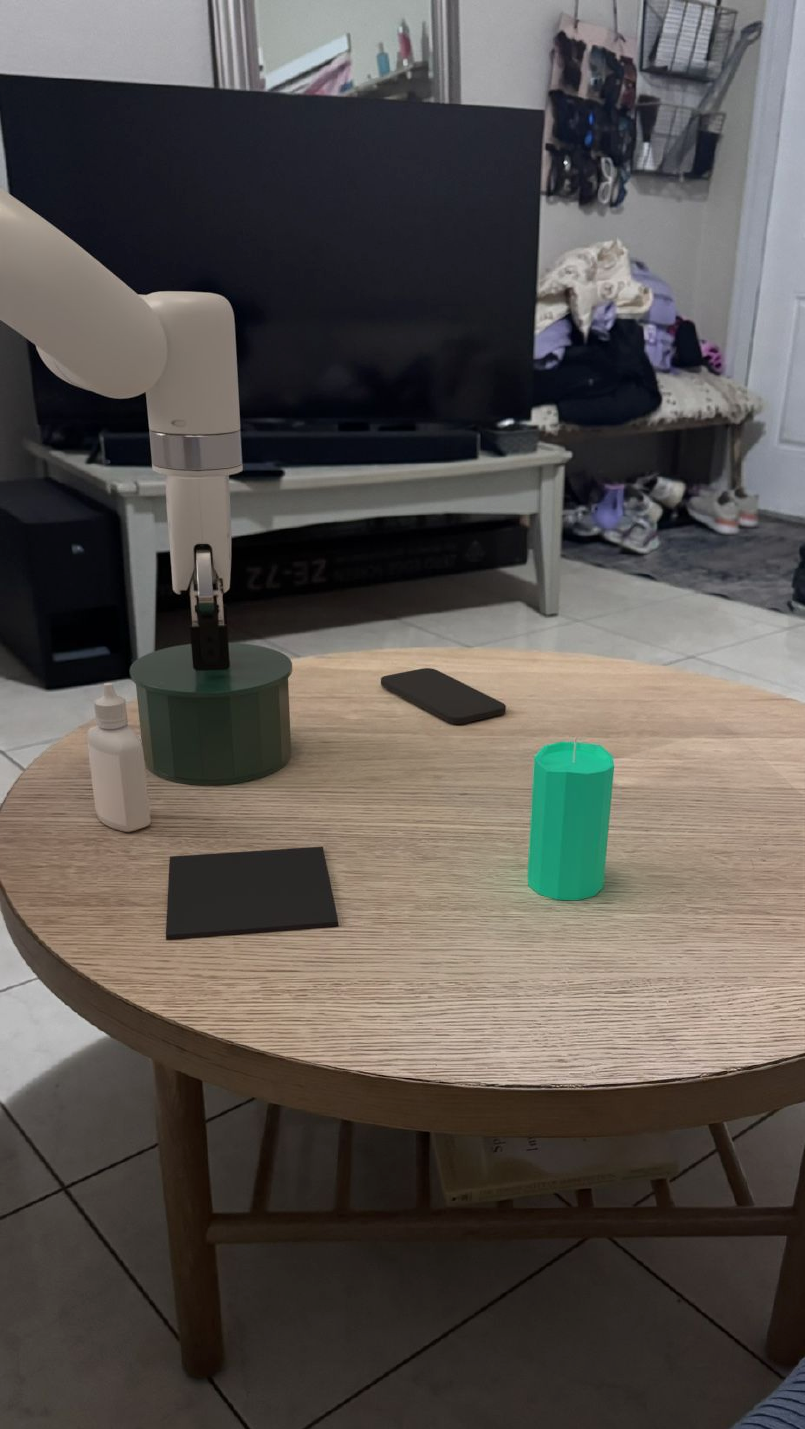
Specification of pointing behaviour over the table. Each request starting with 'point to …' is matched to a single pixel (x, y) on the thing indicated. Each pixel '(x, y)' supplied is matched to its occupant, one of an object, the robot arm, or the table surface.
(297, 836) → the table surface
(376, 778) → the table surface
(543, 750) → the candle
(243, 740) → the tin
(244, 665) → the tin lid
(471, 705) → the phone
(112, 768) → the eye dropper bottle
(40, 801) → the table surface
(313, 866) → the mat
